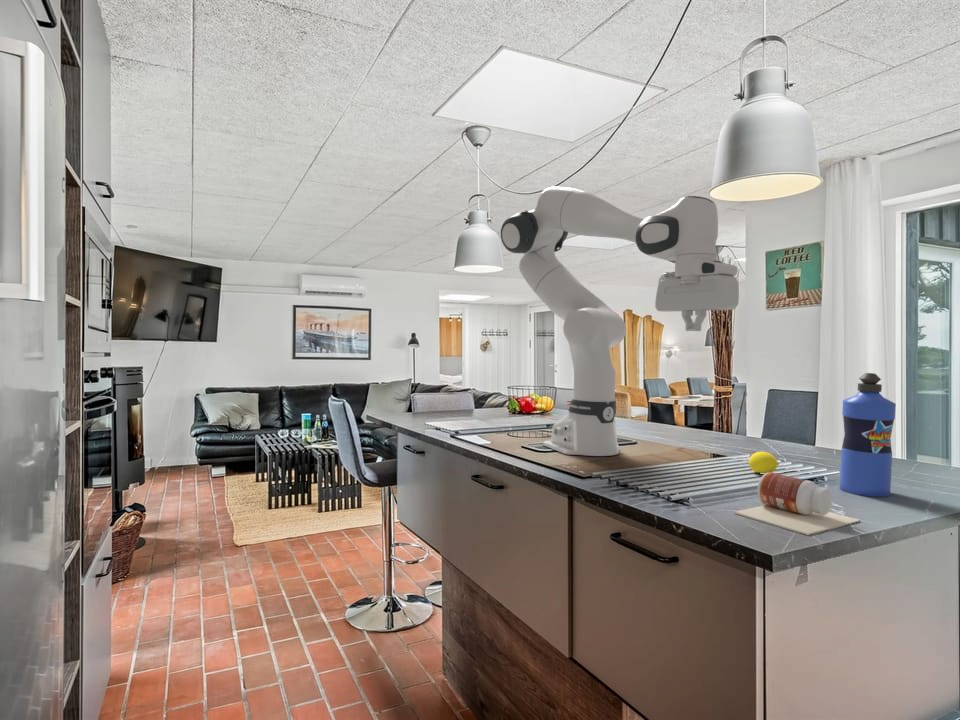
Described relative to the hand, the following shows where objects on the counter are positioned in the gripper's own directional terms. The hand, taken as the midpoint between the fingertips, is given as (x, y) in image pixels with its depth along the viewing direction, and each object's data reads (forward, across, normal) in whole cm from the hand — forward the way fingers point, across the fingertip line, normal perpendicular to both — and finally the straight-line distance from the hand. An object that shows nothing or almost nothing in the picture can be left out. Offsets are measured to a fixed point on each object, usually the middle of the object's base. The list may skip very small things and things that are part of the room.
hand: (693, 331), depth 135 cm
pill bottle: (+30, +23, -6) cm, 38 cm away
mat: (+33, +30, -8) cm, 46 cm away
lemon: (+33, +6, +19) cm, 39 cm away
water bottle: (+33, +26, +24) cm, 49 cm away
